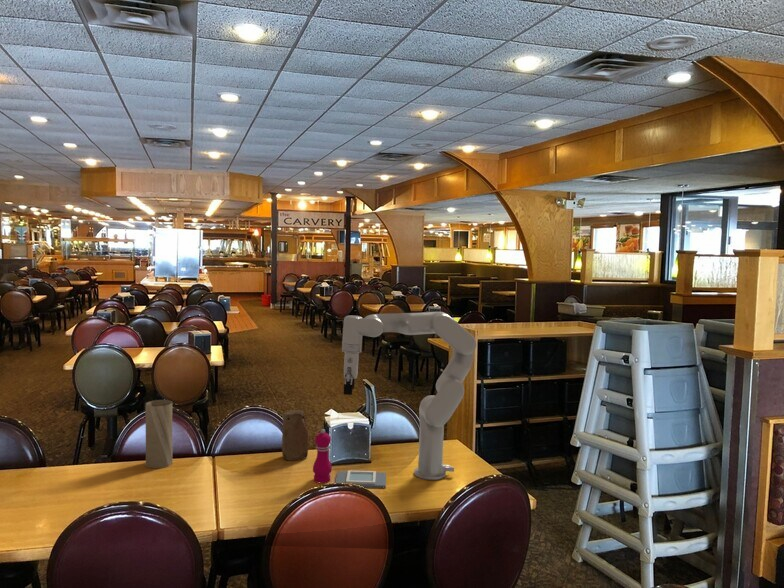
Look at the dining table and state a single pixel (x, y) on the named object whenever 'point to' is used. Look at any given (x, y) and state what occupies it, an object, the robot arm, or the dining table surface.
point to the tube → (158, 434)
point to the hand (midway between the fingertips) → (348, 391)
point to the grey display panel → (362, 478)
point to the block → (294, 435)
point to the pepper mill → (322, 458)
